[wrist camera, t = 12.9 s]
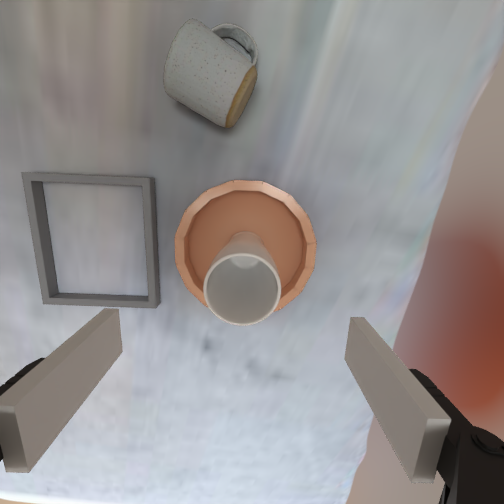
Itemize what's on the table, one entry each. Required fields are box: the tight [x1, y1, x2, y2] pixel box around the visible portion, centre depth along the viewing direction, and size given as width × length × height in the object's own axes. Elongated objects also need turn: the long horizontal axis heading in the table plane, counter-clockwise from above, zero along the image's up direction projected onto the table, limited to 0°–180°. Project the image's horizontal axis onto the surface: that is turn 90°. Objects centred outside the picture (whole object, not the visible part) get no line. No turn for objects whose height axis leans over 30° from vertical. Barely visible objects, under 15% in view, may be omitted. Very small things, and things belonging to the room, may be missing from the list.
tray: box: [21, 172, 160, 308], centre depth 36 cm, size 18×16×2 cm
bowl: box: [175, 180, 317, 312], centre depth 35 cm, size 18×18×3 cm
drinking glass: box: [203, 231, 281, 326], centre depth 29 cm, size 7×7×15 cm
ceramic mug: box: [163, 19, 258, 128], centre depth 28 cm, size 11×8×8 cm
